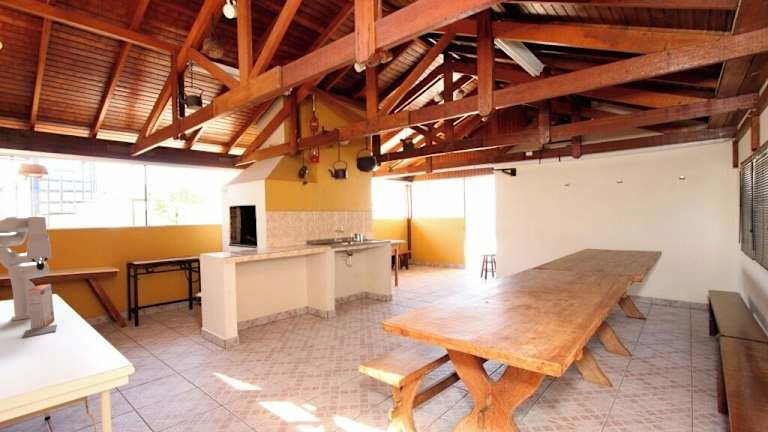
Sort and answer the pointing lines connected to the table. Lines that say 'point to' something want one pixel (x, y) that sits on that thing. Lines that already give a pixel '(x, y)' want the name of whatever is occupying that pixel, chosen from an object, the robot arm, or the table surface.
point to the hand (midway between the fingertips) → (40, 269)
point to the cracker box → (40, 306)
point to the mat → (39, 331)
